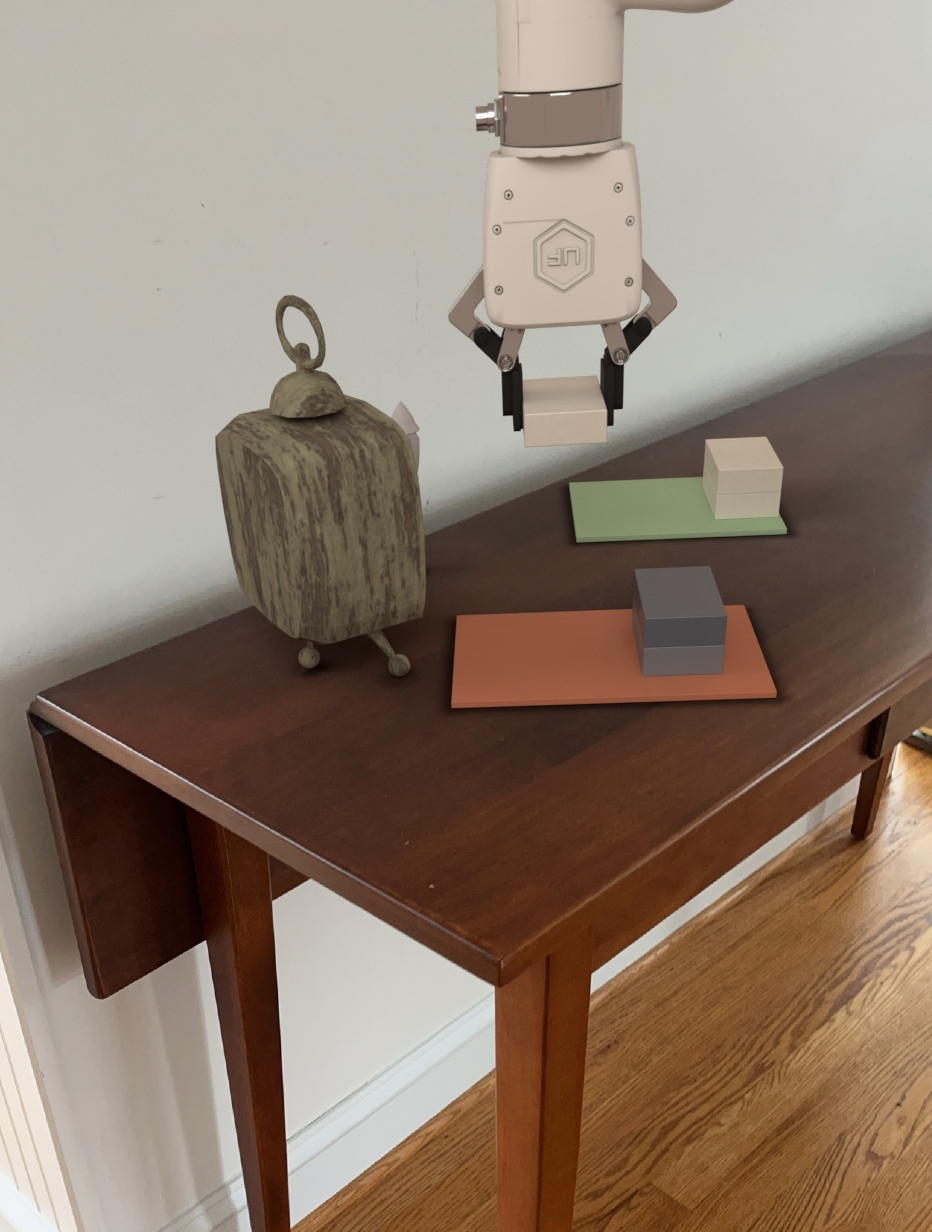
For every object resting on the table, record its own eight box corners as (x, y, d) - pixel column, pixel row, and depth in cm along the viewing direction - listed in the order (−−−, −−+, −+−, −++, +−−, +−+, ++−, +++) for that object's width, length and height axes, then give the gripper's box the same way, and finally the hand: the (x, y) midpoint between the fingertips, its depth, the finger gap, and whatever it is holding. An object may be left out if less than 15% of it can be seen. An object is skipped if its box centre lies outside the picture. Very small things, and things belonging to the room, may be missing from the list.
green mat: (759, 479, 118) (759, 474, 118) (786, 534, 107) (787, 528, 107) (569, 487, 120) (569, 482, 119) (576, 542, 108) (576, 537, 108)
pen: (392, 570, 106) (378, 400, 97) (421, 563, 106) (410, 394, 98) (404, 580, 104) (390, 407, 96) (433, 573, 105) (422, 402, 96)
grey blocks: (706, 621, 93) (710, 565, 91) (722, 674, 86) (727, 615, 84) (631, 624, 93) (633, 568, 91) (642, 676, 87) (645, 618, 84)
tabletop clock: (434, 680, 89) (408, 304, 74) (320, 716, 86) (269, 330, 71) (345, 611, 99) (307, 269, 85) (240, 641, 96) (182, 291, 81)
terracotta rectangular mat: (743, 610, 95) (744, 604, 95) (776, 698, 84) (777, 691, 84) (457, 621, 97) (456, 615, 97) (451, 708, 86) (451, 701, 85)
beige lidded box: (762, 483, 116) (766, 436, 113) (778, 517, 109) (783, 466, 106) (702, 486, 116) (705, 438, 114) (715, 519, 109) (718, 469, 107)
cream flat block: (597, 406, 90) (597, 374, 89) (606, 443, 84) (607, 409, 82) (521, 410, 91) (520, 379, 89) (524, 447, 84) (523, 414, 83)
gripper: (418, 139, 74) (438, 447, 84) (711, 118, 73) (693, 432, 83) (422, 125, 80) (440, 414, 90) (693, 106, 79) (679, 400, 90)
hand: (562, 420), depth 87 cm, fingers closed on cream flat block, 5 cm apart
